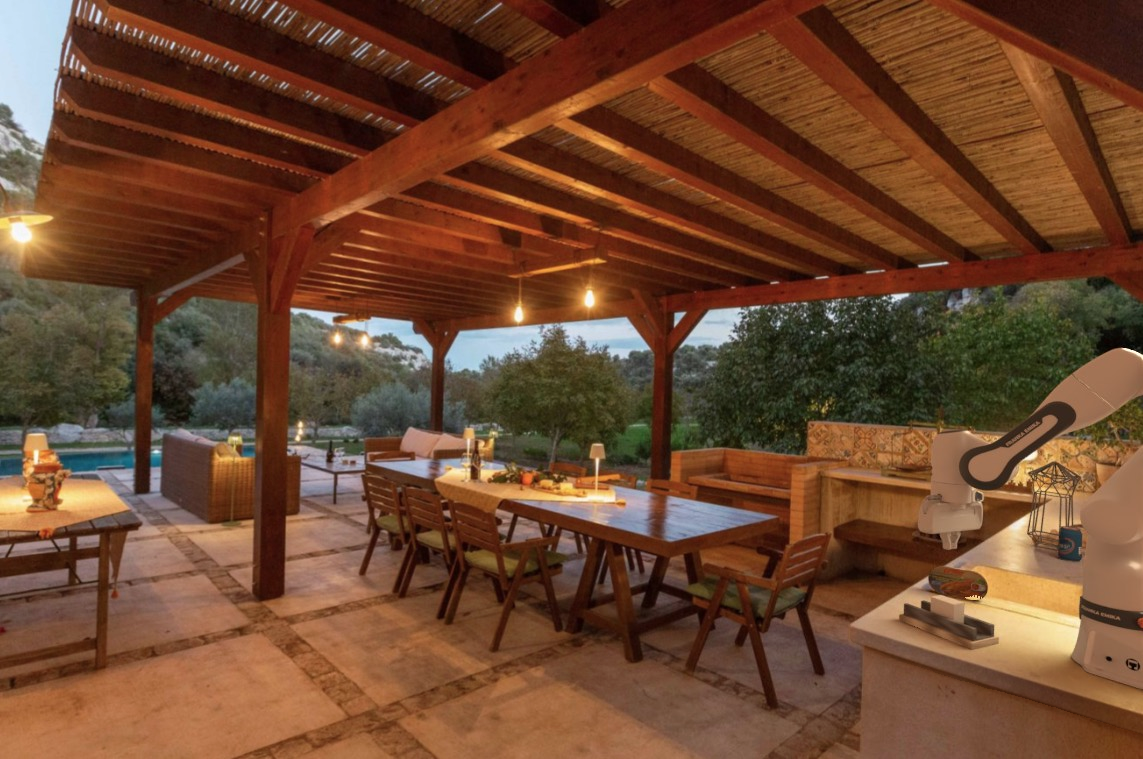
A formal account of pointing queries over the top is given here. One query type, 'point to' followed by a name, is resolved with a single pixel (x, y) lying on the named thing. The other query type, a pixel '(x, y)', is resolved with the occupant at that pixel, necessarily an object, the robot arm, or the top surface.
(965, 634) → the rail board
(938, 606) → the block
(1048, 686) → the top surface
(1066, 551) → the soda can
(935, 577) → the tin
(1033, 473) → the geometric lantern
